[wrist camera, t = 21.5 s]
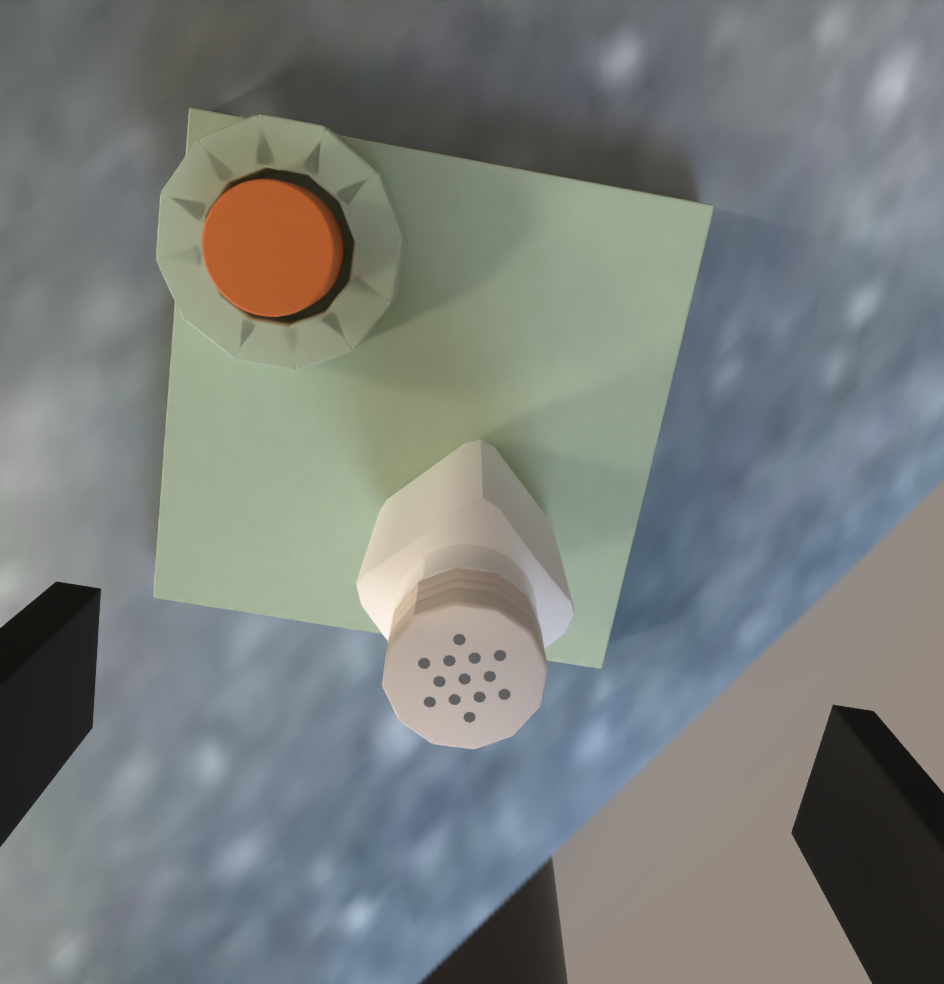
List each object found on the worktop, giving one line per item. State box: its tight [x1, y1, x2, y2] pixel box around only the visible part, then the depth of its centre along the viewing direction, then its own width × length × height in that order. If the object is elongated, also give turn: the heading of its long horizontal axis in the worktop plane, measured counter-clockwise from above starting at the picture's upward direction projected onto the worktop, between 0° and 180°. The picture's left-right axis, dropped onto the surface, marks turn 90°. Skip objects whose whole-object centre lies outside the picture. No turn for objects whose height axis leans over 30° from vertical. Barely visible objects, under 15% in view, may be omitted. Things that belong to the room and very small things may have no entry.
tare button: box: [202, 179, 344, 317], centre depth 22 cm, size 3×3×2 cm
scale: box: [153, 108, 714, 669], centre depth 25 cm, size 14×14×3 cm
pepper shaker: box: [356, 440, 575, 749], centre depth 21 cm, size 4×4×10 cm
